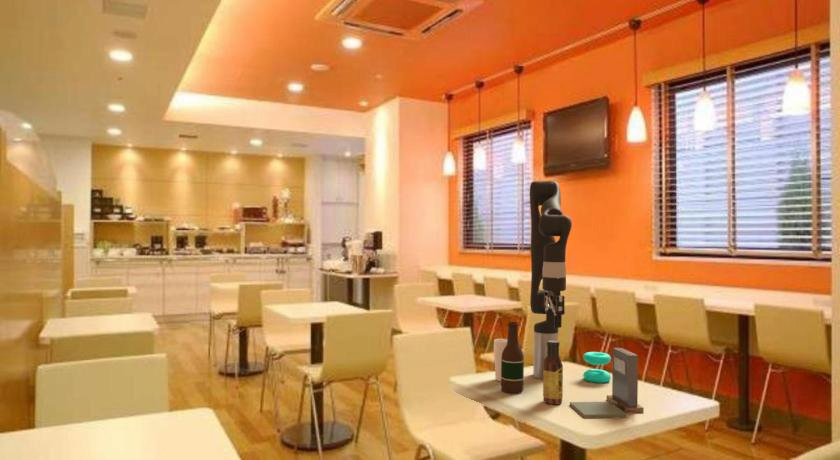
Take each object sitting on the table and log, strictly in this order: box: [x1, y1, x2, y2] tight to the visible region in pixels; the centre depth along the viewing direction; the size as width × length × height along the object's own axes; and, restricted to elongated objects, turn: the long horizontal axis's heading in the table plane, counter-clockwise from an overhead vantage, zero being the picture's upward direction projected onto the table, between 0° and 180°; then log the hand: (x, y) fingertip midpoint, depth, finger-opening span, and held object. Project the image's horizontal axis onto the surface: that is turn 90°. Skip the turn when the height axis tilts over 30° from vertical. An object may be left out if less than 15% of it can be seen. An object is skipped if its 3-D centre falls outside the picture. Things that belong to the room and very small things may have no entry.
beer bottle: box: [500, 321, 525, 395], centre depth 205 cm, size 8×8×24 cm
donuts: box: [582, 351, 612, 384], centre depth 222 cm, size 10×10×10 cm
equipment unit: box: [606, 347, 644, 414], centre depth 189 cm, size 14×6×18 cm, turn 5°
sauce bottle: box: [542, 340, 564, 405], centre depth 192 cm, size 7×6×20 cm
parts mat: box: [569, 401, 627, 419], centre depth 183 cm, size 13×13×1 cm
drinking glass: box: [493, 338, 508, 382], centre depth 220 cm, size 7×7×15 cm
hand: (553, 325), depth 192 cm, fingers open, 8 cm apart
